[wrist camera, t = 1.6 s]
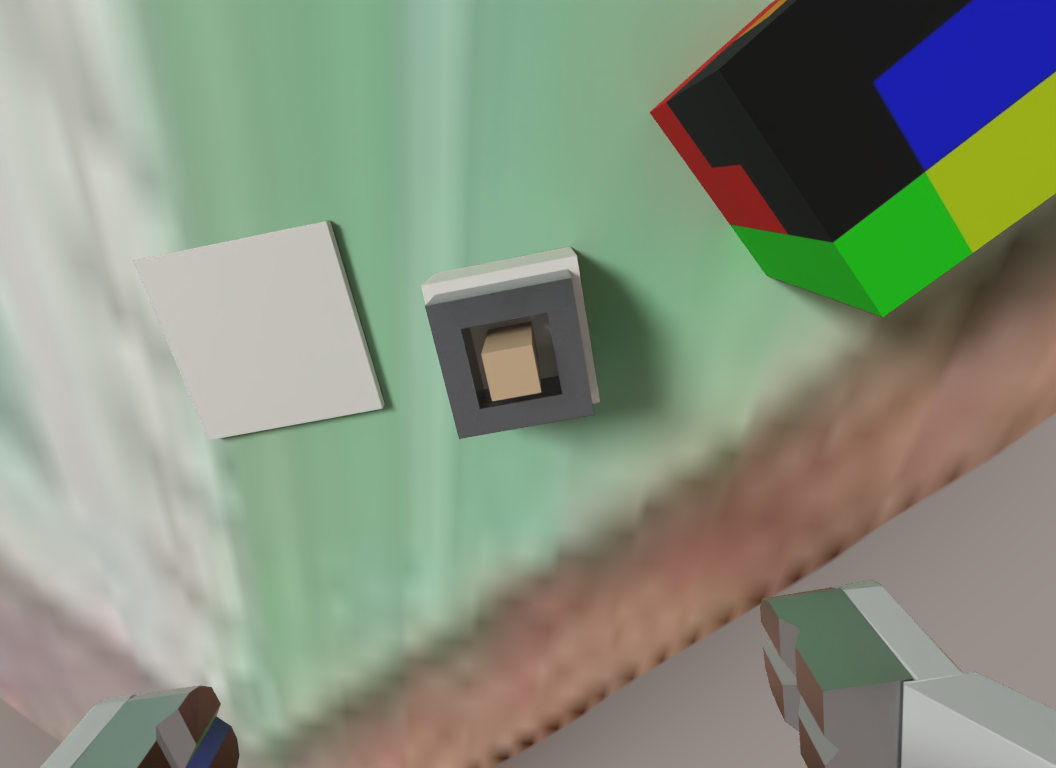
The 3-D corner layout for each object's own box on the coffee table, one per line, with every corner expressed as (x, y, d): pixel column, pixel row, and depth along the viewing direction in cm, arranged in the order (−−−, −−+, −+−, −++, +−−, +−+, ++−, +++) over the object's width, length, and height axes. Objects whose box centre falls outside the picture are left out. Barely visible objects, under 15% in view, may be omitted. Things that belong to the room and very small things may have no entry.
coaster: (140, 259, 28) (132, 260, 28) (329, 220, 28) (326, 221, 27) (214, 435, 31) (208, 440, 31) (384, 404, 31) (382, 408, 30)
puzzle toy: (836, -56, 24) (1036, -214, 14) (944, 136, 26) (1175, 107, 17) (649, 112, 26) (718, 69, 17) (765, 275, 29) (883, 317, 19)
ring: (434, 294, 25) (425, 306, 22) (567, 269, 24) (571, 277, 22) (465, 416, 27) (459, 438, 24) (588, 394, 26) (594, 414, 24)
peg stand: (435, 273, 28) (401, 303, 21) (570, 246, 28) (585, 267, 20) (465, 398, 31) (446, 466, 23) (591, 375, 30) (612, 437, 23)
